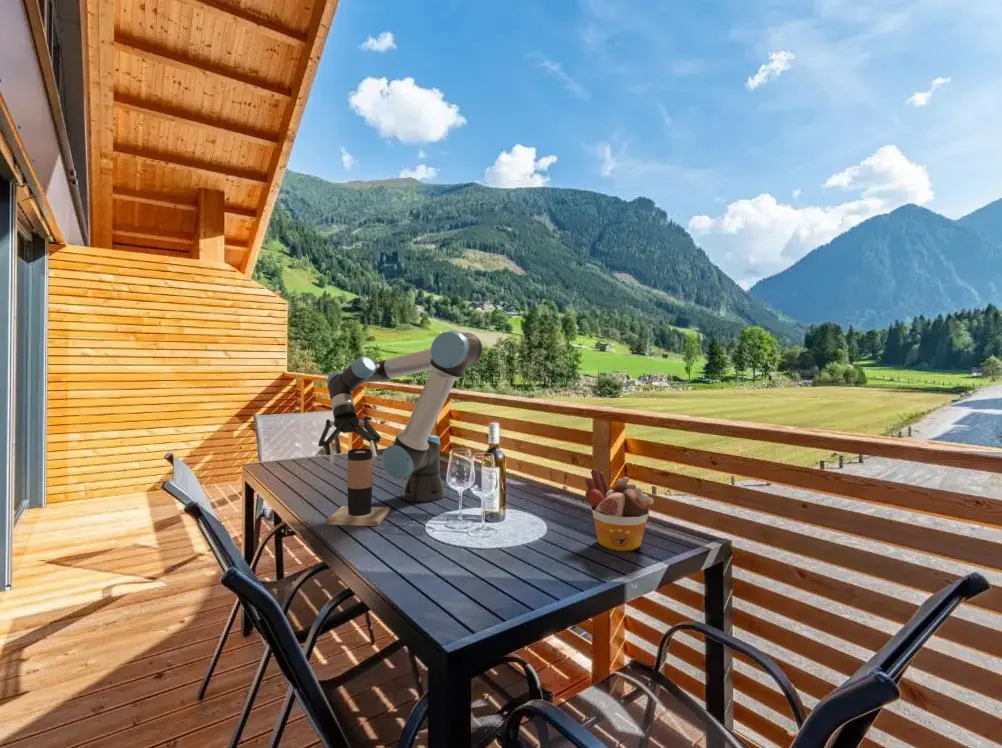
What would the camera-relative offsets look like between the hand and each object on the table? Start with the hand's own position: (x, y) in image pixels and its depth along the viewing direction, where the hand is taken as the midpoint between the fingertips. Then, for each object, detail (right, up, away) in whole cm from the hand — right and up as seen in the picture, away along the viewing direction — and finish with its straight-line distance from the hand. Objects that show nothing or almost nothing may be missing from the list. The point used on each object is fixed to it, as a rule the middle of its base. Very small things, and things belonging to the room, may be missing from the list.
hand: (354, 460), depth 166 cm
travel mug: (+2, -16, -3) cm, 17 cm away
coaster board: (+2, -18, -3) cm, 18 cm away
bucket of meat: (+81, -20, -22) cm, 86 cm away
